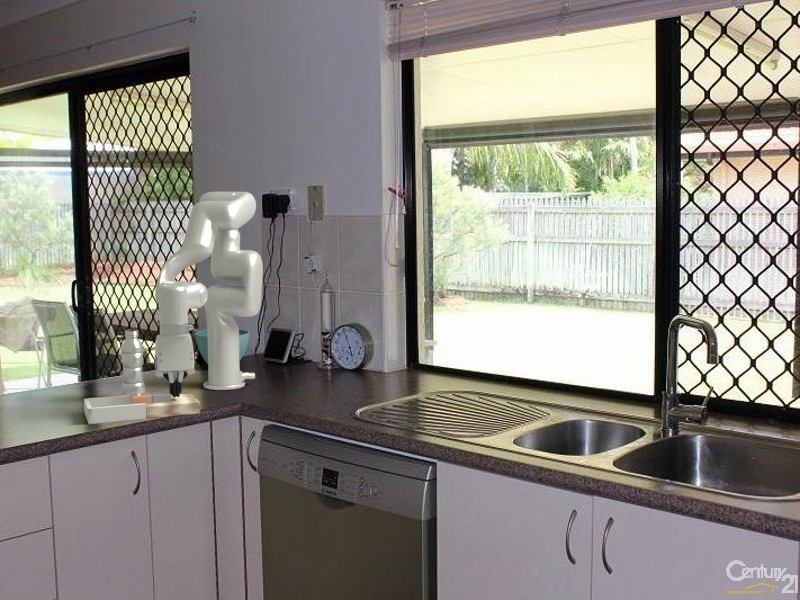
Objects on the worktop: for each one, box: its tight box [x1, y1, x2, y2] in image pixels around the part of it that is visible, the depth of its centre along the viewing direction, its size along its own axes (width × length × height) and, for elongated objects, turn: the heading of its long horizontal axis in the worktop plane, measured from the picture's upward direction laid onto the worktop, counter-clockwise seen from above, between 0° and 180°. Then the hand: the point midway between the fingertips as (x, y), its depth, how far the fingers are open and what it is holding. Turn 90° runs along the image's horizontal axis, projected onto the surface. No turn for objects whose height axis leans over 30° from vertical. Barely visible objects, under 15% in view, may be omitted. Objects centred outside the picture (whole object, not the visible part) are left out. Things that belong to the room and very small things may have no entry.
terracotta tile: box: [130, 391, 153, 404], centre depth 237 cm, size 5×5×2 cm
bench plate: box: [146, 393, 201, 419], centre depth 241 cm, size 14×12×3 cm
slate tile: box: [149, 390, 172, 403], centre depth 239 cm, size 5×5×2 cm
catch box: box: [83, 394, 147, 425], centre depth 235 cm, size 14×13×4 cm
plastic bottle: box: [119, 329, 146, 395], centre depth 255 cm, size 6×7×20 cm
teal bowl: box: [195, 328, 250, 365], centre depth 304 cm, size 18×18×12 cm
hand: (175, 396), depth 241 cm, fingers closed
